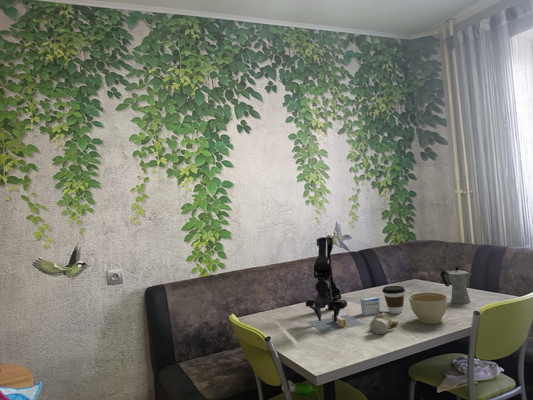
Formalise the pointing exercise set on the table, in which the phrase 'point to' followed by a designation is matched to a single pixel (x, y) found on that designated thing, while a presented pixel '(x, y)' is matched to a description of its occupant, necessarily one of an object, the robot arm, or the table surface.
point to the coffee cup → (394, 298)
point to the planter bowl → (428, 306)
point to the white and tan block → (339, 321)
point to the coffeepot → (458, 285)
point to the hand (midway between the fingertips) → (327, 321)
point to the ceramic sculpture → (382, 323)
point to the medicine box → (370, 306)
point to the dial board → (334, 324)
